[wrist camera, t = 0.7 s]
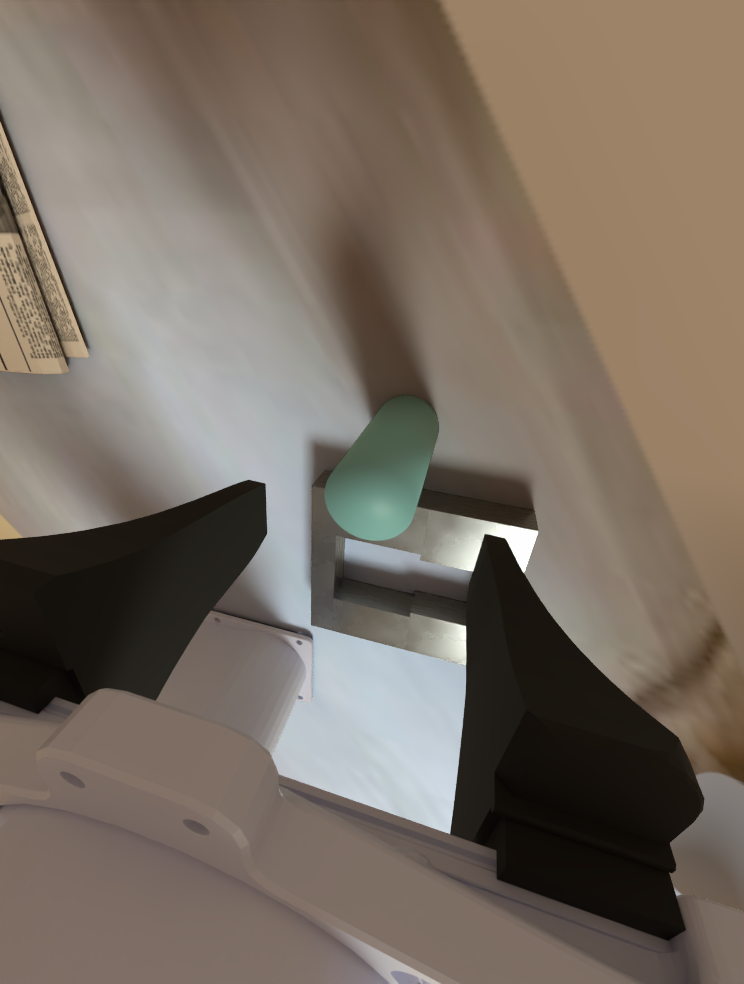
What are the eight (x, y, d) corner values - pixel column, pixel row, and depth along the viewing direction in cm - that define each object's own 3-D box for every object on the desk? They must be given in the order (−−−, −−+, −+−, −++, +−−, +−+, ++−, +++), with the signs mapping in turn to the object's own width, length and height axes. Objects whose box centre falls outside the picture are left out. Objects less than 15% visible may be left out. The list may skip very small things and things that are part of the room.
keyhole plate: (321, 604, 30) (311, 625, 28) (324, 470, 24) (311, 485, 22) (488, 646, 28) (488, 671, 26) (534, 510, 22) (538, 531, 20)
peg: (372, 450, 23) (323, 530, 16) (378, 390, 21) (325, 451, 14) (433, 461, 22) (409, 549, 15) (444, 400, 20) (421, 468, 14)
